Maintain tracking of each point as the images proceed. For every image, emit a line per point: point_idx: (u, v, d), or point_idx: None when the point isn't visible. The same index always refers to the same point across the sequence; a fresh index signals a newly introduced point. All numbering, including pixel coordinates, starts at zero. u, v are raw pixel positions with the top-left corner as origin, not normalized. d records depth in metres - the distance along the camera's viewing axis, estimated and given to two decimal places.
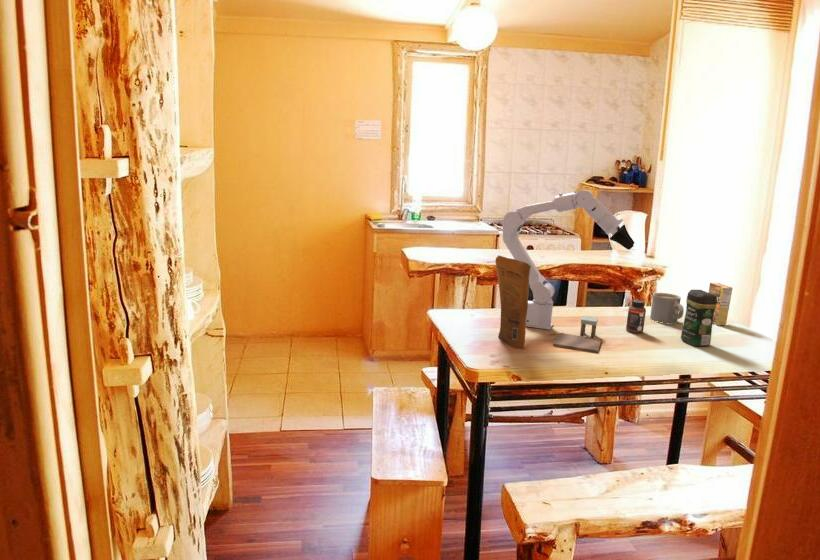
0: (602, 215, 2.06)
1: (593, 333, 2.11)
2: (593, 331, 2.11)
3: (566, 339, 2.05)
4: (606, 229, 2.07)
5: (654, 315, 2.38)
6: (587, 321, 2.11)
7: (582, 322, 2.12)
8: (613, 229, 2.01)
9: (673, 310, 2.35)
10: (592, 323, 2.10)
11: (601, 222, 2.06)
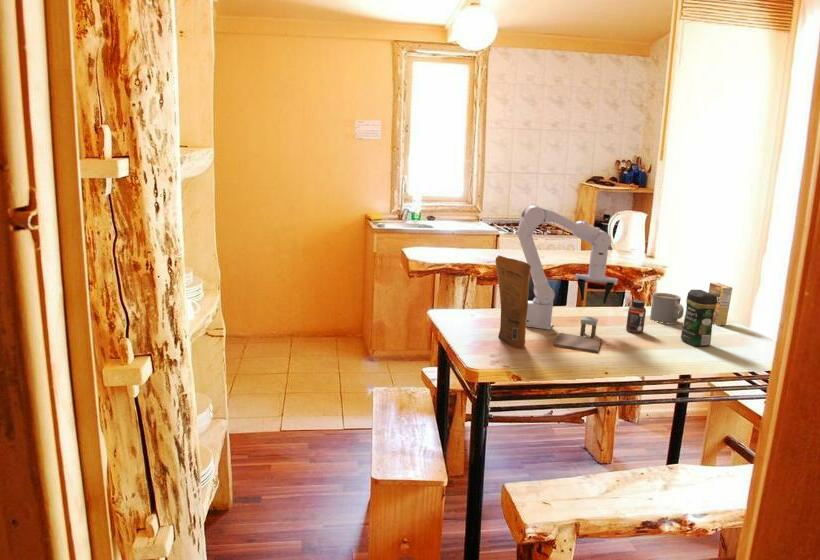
0: (601, 263, 2.14)
1: (593, 333, 2.11)
2: (593, 331, 2.11)
3: (566, 339, 2.05)
4: (602, 276, 2.16)
5: (654, 315, 2.38)
6: (587, 321, 2.11)
7: (582, 322, 2.12)
8: (617, 280, 2.16)
9: (673, 310, 2.35)
10: (592, 323, 2.10)
11: (604, 267, 2.15)
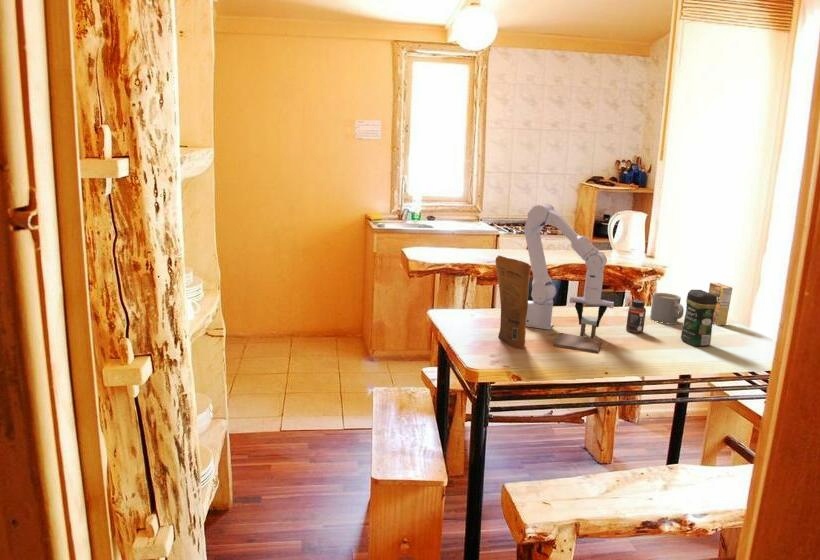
0: (593, 286, 2.08)
1: (593, 333, 2.11)
2: (593, 331, 2.11)
3: (566, 339, 2.05)
4: (598, 299, 2.09)
5: (654, 315, 2.38)
6: (587, 321, 2.11)
7: (582, 322, 2.12)
8: (613, 304, 2.10)
9: (673, 310, 2.35)
10: (592, 323, 2.10)
11: (600, 291, 2.09)
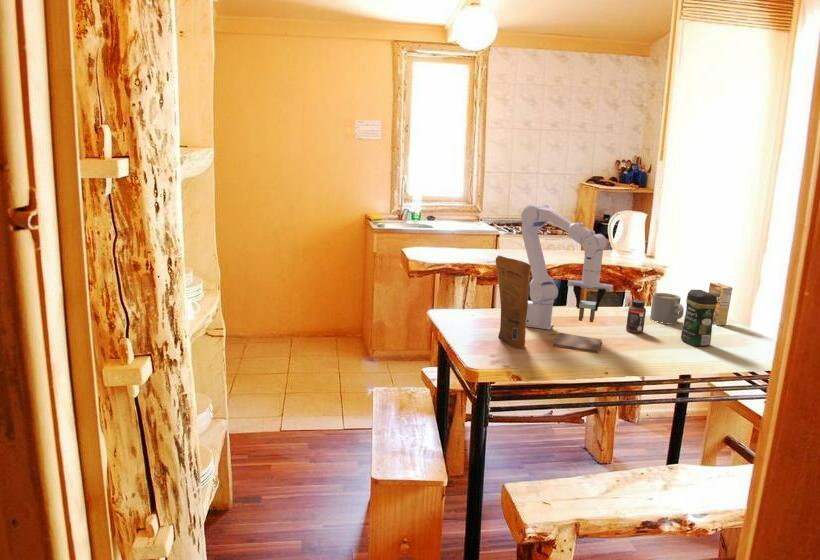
0: (589, 268, 2.03)
1: (592, 317, 2.06)
2: (592, 315, 2.06)
3: (566, 339, 2.05)
4: (597, 282, 2.04)
5: (654, 315, 2.38)
6: (585, 305, 2.06)
7: (580, 306, 2.06)
8: (612, 287, 2.04)
9: (673, 310, 2.35)
10: (591, 307, 2.05)
11: (599, 273, 2.03)
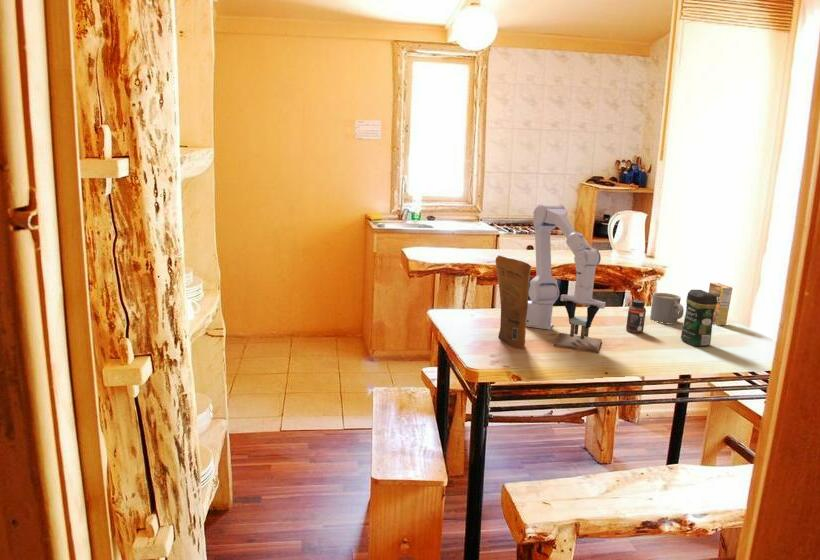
0: (578, 283, 1.98)
1: (582, 334, 2.00)
2: (582, 332, 2.00)
3: (566, 339, 2.05)
4: (587, 298, 1.98)
5: (654, 315, 2.38)
6: (576, 321, 2.01)
7: (571, 322, 2.02)
8: (604, 304, 1.97)
9: (673, 310, 2.35)
10: (581, 323, 2.00)
11: (590, 289, 1.98)
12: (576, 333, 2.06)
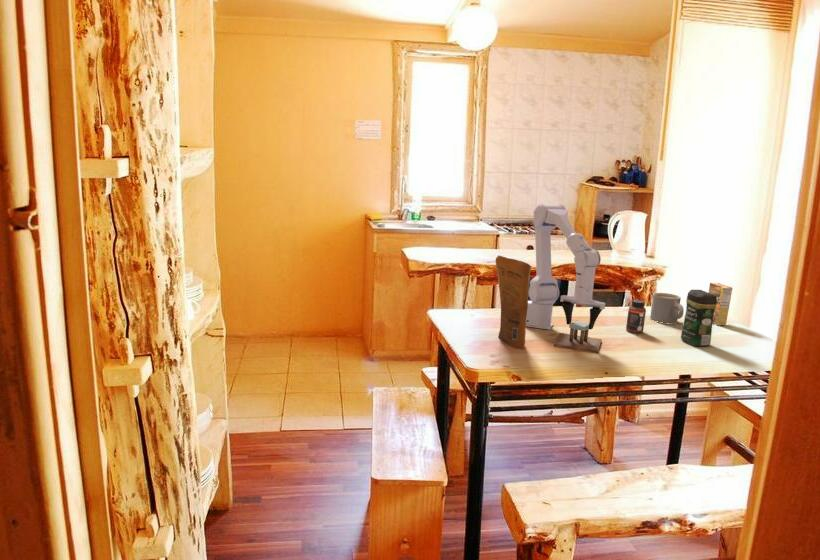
0: (578, 284, 1.98)
1: (581, 339, 2.01)
2: (581, 337, 2.01)
3: (566, 339, 2.05)
4: (587, 299, 1.98)
5: (654, 315, 2.38)
6: (575, 326, 2.01)
7: (570, 326, 2.02)
8: (604, 305, 1.97)
9: (673, 310, 2.35)
10: (580, 328, 2.00)
11: (590, 290, 1.98)
12: (575, 338, 2.06)
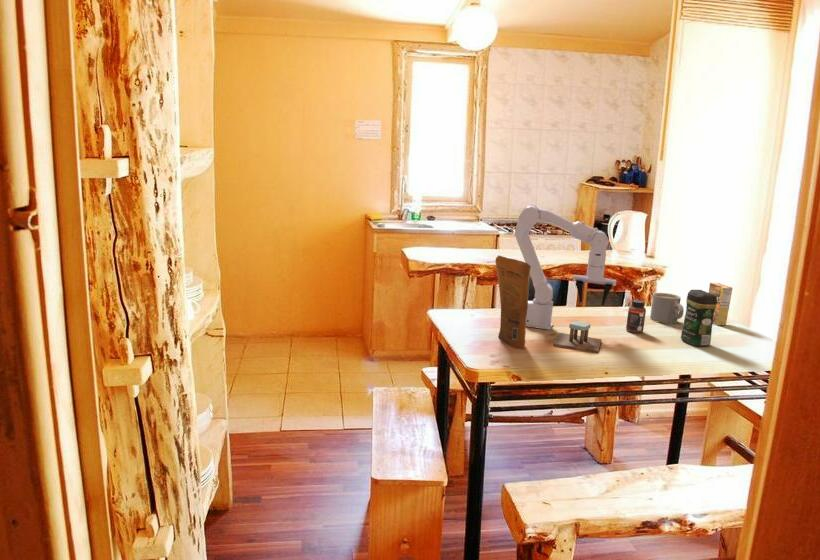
0: (598, 264, 2.12)
1: (581, 339, 2.01)
2: (581, 337, 2.01)
3: (566, 339, 2.05)
4: (601, 277, 2.13)
5: (654, 315, 2.38)
6: (575, 326, 2.01)
7: (570, 326, 2.02)
8: None
9: (673, 310, 2.35)
10: (580, 328, 2.00)
11: (603, 269, 2.13)
12: (575, 338, 2.06)
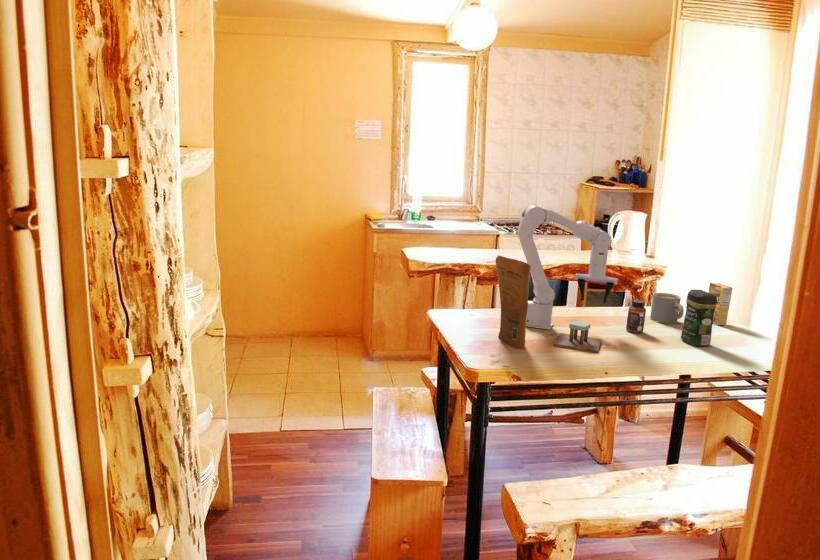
0: (601, 263, 2.15)
1: (581, 339, 2.01)
2: (581, 337, 2.01)
3: (566, 339, 2.05)
4: (602, 275, 2.16)
5: (654, 315, 2.38)
6: (575, 326, 2.01)
7: (570, 326, 2.02)
8: (617, 280, 2.16)
9: (673, 310, 2.35)
10: (580, 328, 2.00)
11: (604, 267, 2.16)
12: (575, 338, 2.06)
